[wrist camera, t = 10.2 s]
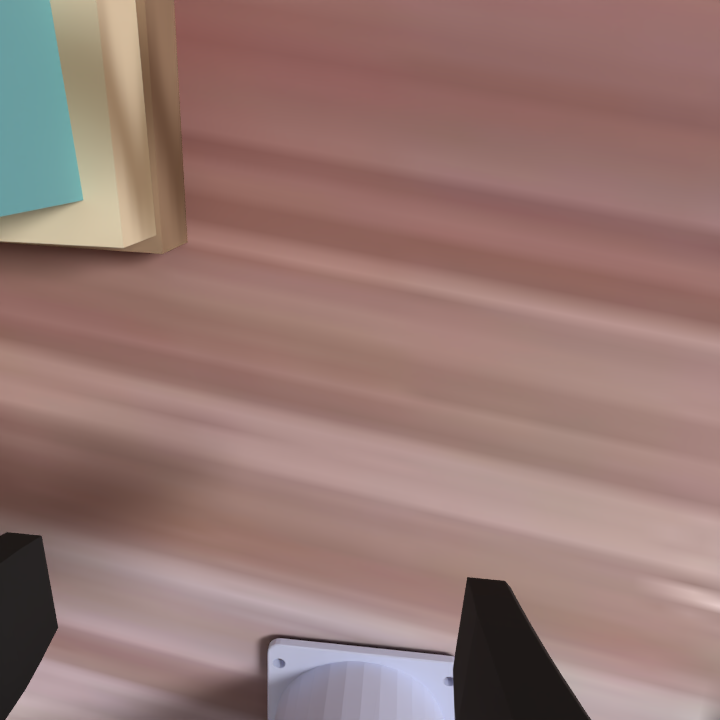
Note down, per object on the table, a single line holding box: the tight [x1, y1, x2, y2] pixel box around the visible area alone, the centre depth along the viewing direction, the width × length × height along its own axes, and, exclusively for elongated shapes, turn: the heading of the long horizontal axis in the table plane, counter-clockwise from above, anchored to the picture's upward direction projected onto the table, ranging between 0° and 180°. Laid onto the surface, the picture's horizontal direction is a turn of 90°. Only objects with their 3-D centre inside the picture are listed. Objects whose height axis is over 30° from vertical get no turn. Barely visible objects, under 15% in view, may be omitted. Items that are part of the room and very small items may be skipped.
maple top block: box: [0, 0, 156, 248], centre depth 14 cm, size 6×6×2 cm
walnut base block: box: [0, 0, 187, 254], centre depth 16 cm, size 8×8×2 cm
